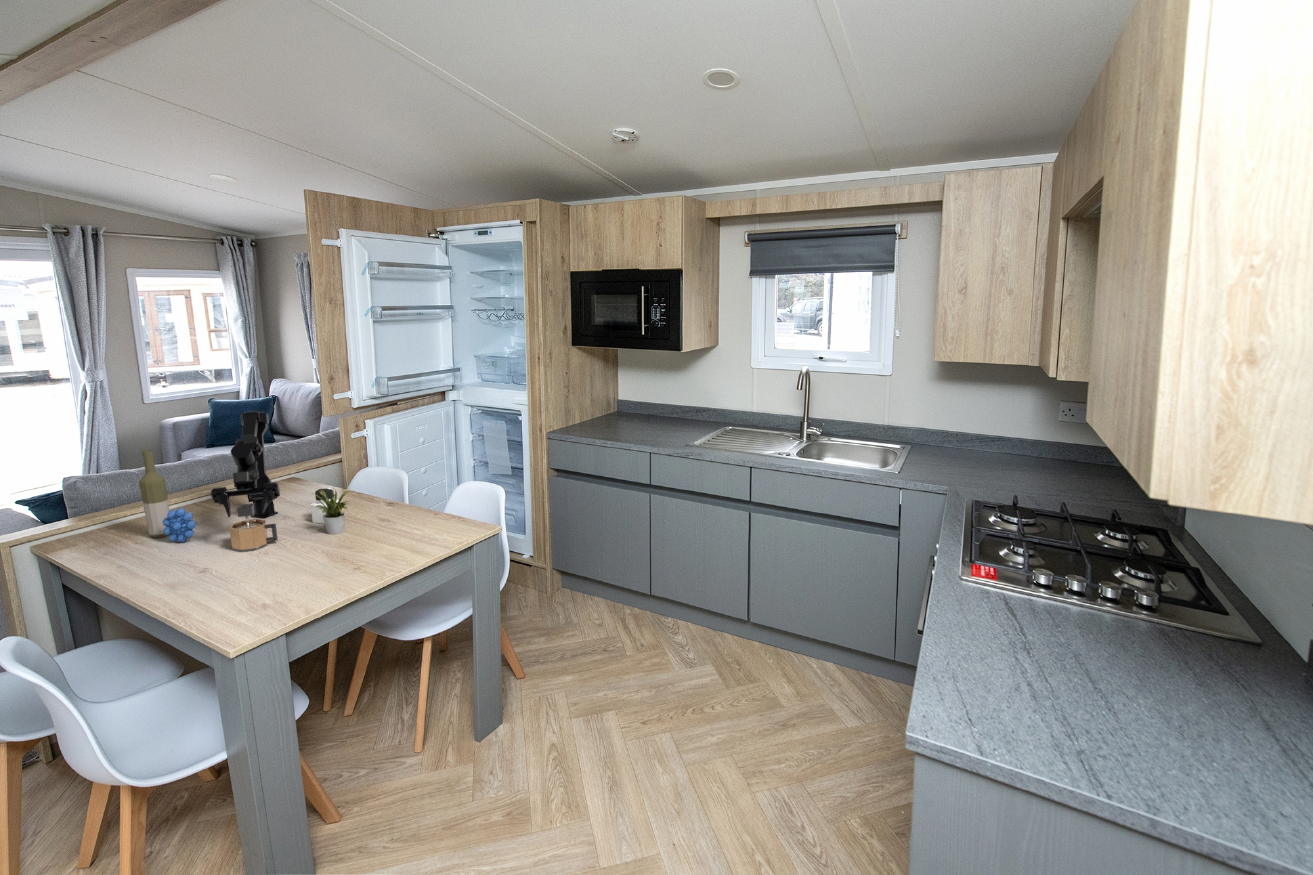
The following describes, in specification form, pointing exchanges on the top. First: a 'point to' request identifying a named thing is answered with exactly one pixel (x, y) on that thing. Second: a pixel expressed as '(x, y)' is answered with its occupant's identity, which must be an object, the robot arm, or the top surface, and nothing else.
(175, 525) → the grapes
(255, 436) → the robot arm
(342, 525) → the house plant
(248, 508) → the grey cube on disc
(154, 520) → the bottle
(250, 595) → the top surface
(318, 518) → the medicine bottle
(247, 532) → the octagonal wooden mug
